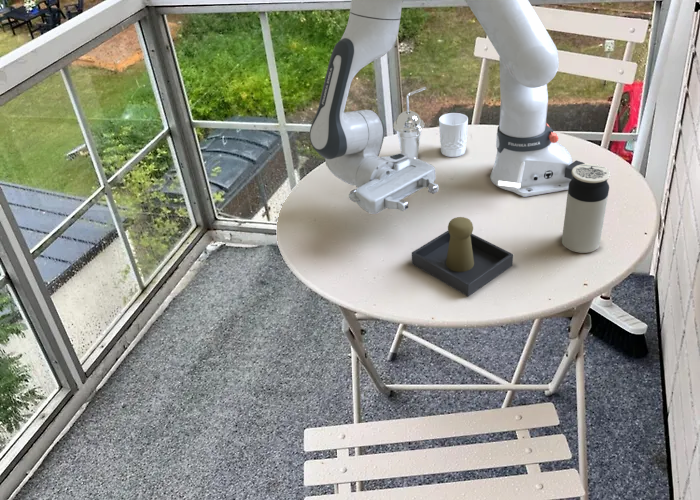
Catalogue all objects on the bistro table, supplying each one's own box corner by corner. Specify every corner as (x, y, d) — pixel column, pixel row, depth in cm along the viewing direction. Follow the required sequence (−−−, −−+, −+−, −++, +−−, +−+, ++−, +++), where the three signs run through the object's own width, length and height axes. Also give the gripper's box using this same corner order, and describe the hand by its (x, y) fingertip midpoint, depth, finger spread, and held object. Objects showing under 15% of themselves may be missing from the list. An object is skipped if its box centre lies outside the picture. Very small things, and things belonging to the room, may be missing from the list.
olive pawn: (456, 275, 139) (456, 232, 132) (440, 261, 143) (440, 218, 137) (479, 265, 140) (481, 222, 134) (463, 251, 145) (464, 209, 139)
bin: (411, 264, 144) (411, 252, 142) (455, 236, 151) (455, 225, 149) (468, 296, 133) (468, 284, 132) (512, 265, 140) (513, 254, 139)
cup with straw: (397, 150, 188) (393, 83, 176) (428, 151, 186) (427, 83, 174) (392, 164, 181) (389, 96, 169) (425, 165, 179) (423, 96, 168)
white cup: (466, 144, 187) (467, 112, 181) (468, 157, 181) (468, 124, 175) (438, 145, 188) (438, 113, 182) (439, 158, 182) (439, 125, 176)
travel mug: (593, 257, 140) (605, 184, 130) (556, 248, 144) (565, 177, 133) (603, 238, 145) (616, 166, 135) (567, 229, 149) (577, 159, 139)
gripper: (342, 183, 145) (385, 205, 136) (408, 149, 155) (452, 168, 146) (345, 207, 149) (387, 230, 140) (409, 173, 159) (452, 192, 150)
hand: (421, 198), depth 143 cm, fingers open, 8 cm apart
